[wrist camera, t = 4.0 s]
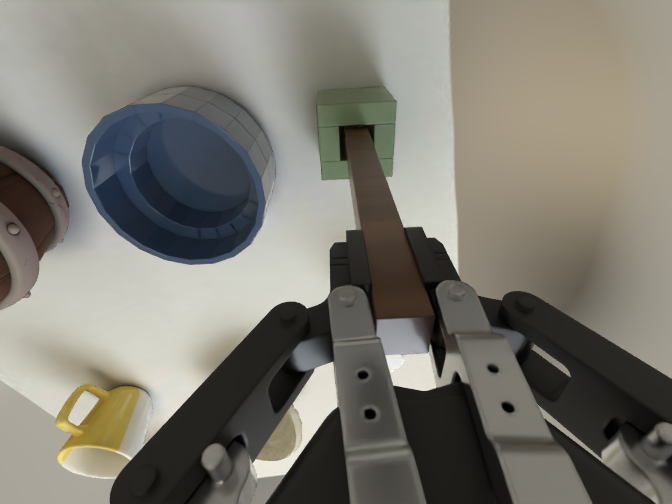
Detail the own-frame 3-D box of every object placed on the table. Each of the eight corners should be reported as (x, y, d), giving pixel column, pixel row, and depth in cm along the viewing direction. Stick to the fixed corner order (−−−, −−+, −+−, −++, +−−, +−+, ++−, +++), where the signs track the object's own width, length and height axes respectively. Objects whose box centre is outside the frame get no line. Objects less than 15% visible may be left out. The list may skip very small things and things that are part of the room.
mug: (175, 408, 58) (148, 476, 49) (120, 414, 59) (85, 482, 50) (134, 359, 50) (95, 430, 42) (72, 367, 51) (20, 439, 42)
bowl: (253, 336, 48) (238, 403, 40) (323, 377, 54) (323, 441, 46) (196, 381, 54) (173, 447, 45) (265, 413, 60) (255, 476, 51)
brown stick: (344, 128, 26) (375, 318, 10) (367, 127, 26) (436, 315, 10) (345, 150, 27) (374, 356, 11) (367, 149, 27) (428, 353, 11)
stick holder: (317, 89, 29) (316, 104, 24) (385, 86, 29) (396, 100, 24) (322, 155, 33) (321, 180, 28) (382, 152, 33) (392, 176, 28)
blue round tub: (104, 89, 29) (44, 109, 23) (263, 80, 29) (246, 98, 23) (160, 226, 37) (127, 268, 31) (284, 219, 37) (276, 260, 31)
